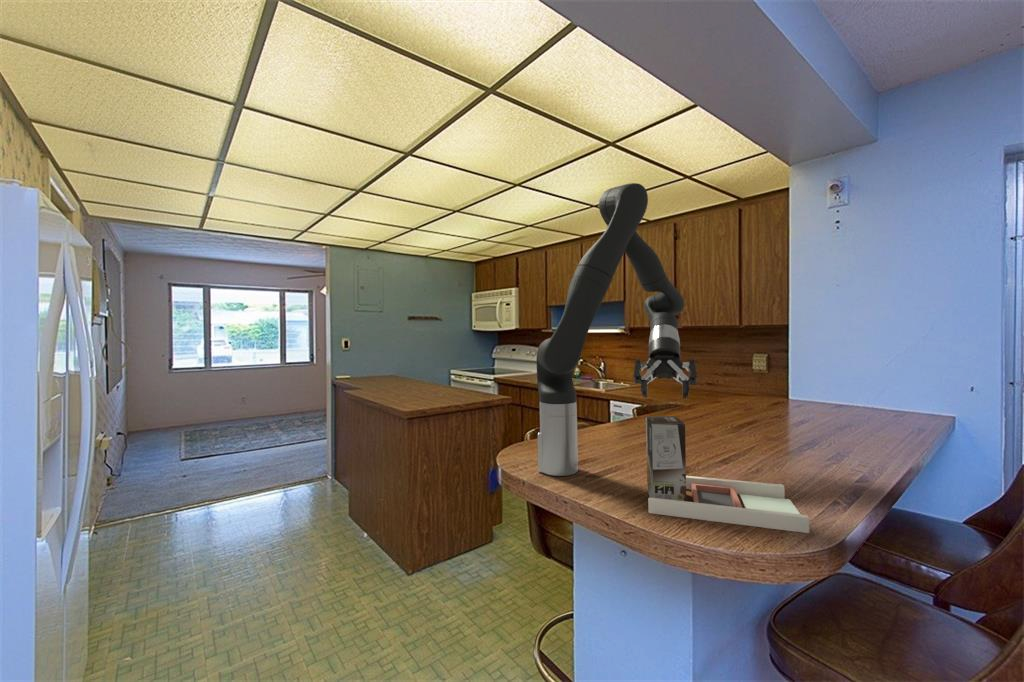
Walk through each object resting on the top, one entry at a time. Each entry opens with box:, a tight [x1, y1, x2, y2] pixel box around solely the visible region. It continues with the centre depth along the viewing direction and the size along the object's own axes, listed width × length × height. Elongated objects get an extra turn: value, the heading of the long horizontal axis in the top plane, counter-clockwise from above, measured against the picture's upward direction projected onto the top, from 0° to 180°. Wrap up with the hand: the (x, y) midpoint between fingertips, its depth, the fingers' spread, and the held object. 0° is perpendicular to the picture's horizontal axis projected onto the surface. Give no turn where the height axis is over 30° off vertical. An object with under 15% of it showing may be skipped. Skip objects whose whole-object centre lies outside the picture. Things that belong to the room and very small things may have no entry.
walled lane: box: [647, 475, 810, 534], centre depth 79 cm, size 25×16×2 cm, turn 69°
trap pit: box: [691, 483, 743, 508], centre depth 79 cm, size 8×13×2 cm, turn 159°
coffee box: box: [645, 415, 687, 502], centre depth 82 cm, size 9×6×16 cm
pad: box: [739, 494, 801, 514], centre depth 76 cm, size 9×12×1 cm
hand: (664, 396), depth 95 cm, fingers open, 8 cm apart
